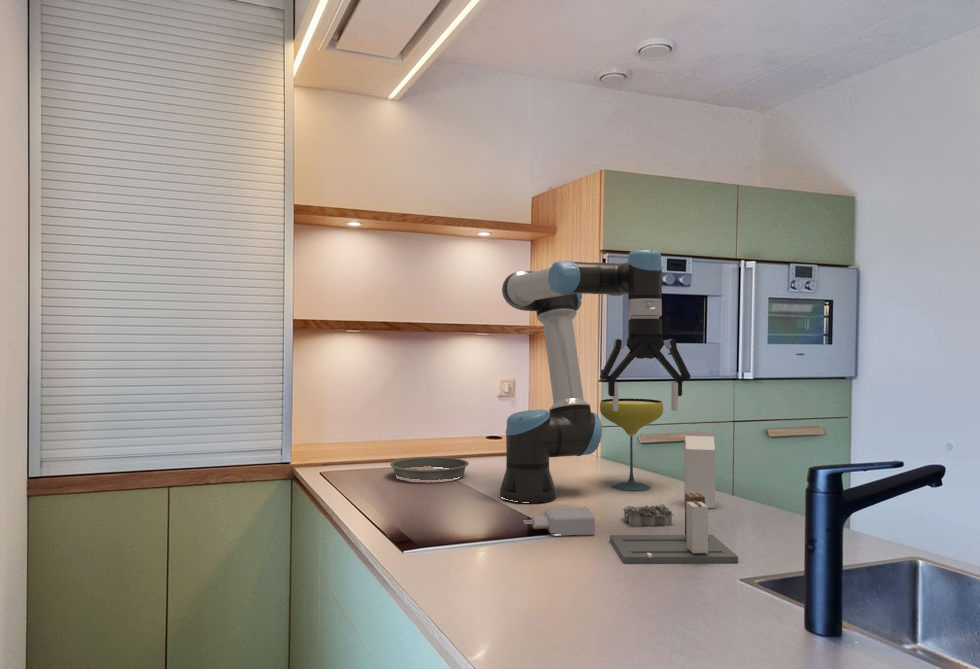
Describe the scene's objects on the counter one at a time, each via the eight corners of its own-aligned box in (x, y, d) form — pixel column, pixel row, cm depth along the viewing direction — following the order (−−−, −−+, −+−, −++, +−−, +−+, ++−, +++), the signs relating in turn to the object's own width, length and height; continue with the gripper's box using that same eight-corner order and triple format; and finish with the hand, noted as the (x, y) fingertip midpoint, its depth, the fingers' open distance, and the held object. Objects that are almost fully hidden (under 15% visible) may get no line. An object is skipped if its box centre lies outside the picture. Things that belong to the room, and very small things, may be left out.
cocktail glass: (631, 478, 215) (631, 397, 215) (676, 488, 200) (676, 401, 200) (587, 485, 205) (587, 400, 205) (631, 496, 190) (631, 405, 190)
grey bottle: (520, 527, 160) (584, 525, 161) (527, 539, 151) (594, 537, 152) (520, 507, 160) (584, 505, 161) (527, 517, 151) (594, 515, 152)
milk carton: (715, 509, 176) (715, 433, 176) (686, 507, 178) (686, 433, 178) (712, 502, 183) (712, 430, 183) (684, 501, 184) (684, 429, 185)
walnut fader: (690, 541, 143) (690, 496, 143) (684, 535, 147) (684, 491, 147) (705, 541, 143) (704, 495, 143) (699, 535, 147) (698, 491, 147)
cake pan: (483, 479, 215) (483, 464, 215) (413, 488, 202) (413, 473, 202) (443, 467, 236) (443, 453, 236) (377, 475, 222) (377, 460, 222)
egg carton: (629, 528, 160) (629, 510, 160) (621, 519, 167) (621, 502, 167) (675, 527, 160) (675, 509, 160) (665, 518, 168) (664, 501, 168)
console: (624, 563, 133) (624, 555, 133) (609, 540, 149) (609, 533, 149) (738, 563, 133) (738, 555, 133) (712, 540, 149) (712, 532, 149)
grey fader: (692, 553, 135) (692, 505, 135) (686, 546, 139) (686, 500, 139) (708, 553, 135) (707, 505, 135) (701, 546, 139) (701, 500, 139)
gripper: (593, 317, 155) (593, 412, 155) (704, 317, 156) (704, 412, 156) (588, 318, 163) (588, 409, 163) (694, 318, 163) (694, 408, 163)
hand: (645, 410), depth 159 cm, fingers open, 13 cm apart
